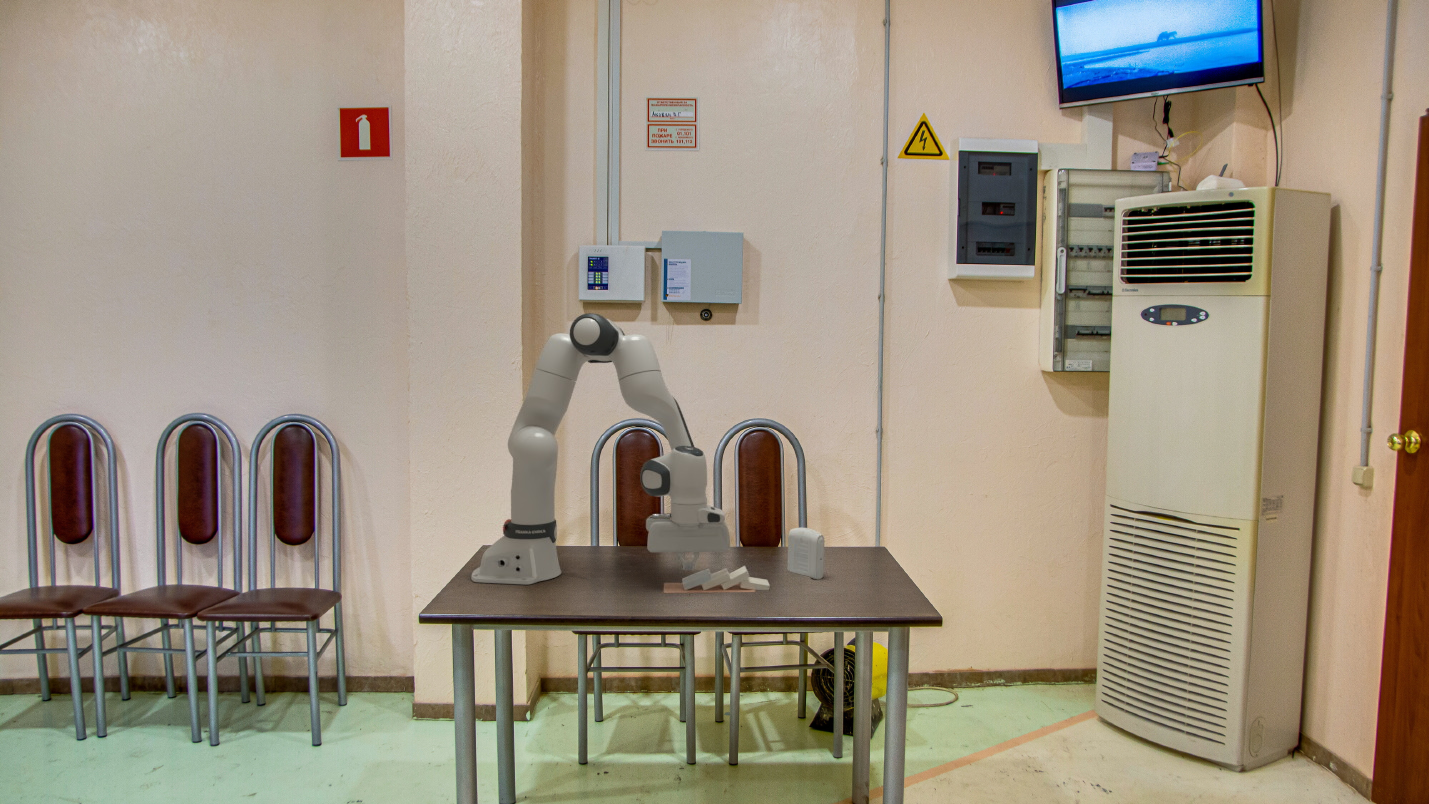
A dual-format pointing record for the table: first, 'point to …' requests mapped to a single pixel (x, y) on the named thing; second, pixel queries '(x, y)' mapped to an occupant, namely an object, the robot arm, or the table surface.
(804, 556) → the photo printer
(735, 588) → the strip
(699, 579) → the domino
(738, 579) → the domino
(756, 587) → the domino
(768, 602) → the table surface
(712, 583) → the domino
